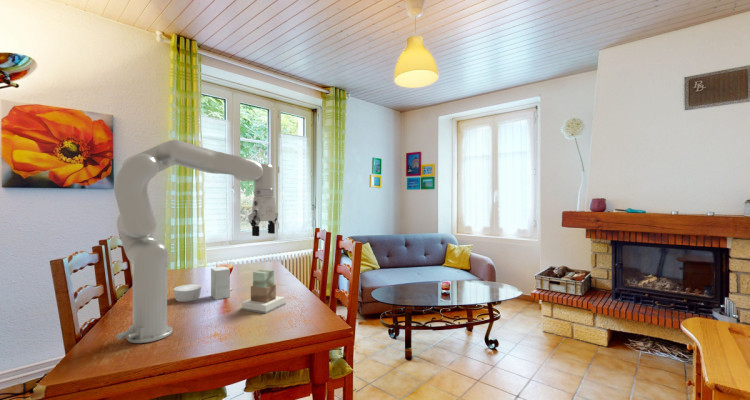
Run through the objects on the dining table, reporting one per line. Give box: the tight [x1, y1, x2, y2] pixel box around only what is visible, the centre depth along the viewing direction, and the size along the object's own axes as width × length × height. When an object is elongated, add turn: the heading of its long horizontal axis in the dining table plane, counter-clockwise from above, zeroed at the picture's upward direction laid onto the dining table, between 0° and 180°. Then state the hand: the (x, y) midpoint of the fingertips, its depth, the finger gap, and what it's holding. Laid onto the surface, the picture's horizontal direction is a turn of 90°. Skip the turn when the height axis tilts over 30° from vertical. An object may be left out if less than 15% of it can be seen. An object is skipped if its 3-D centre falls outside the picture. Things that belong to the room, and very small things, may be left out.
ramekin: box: [172, 283, 202, 303], centre depth 154 cm, size 11×11×5 cm
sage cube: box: [252, 268, 275, 288], centre depth 143 cm, size 6×6×6 cm
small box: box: [210, 266, 231, 301], centre depth 157 cm, size 8×6×13 cm
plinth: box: [240, 295, 287, 314], centre depth 143 cm, size 13×13×3 cm
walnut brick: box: [250, 283, 277, 303], centre depth 143 cm, size 6×8×6 cm
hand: (263, 234), depth 143 cm, fingers open, 9 cm apart
